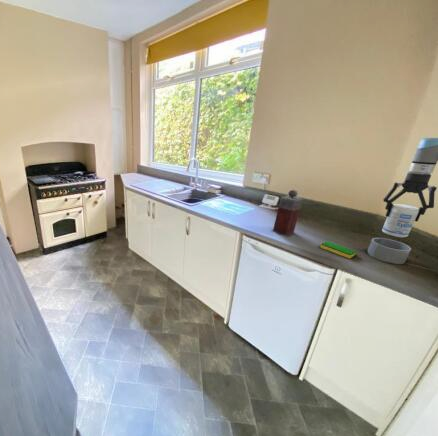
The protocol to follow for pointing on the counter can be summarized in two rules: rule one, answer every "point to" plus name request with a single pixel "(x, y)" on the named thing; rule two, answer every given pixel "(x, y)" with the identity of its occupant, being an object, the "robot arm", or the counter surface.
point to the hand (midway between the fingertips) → (400, 218)
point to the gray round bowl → (388, 250)
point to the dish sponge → (338, 249)
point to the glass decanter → (287, 213)
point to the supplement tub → (400, 220)
